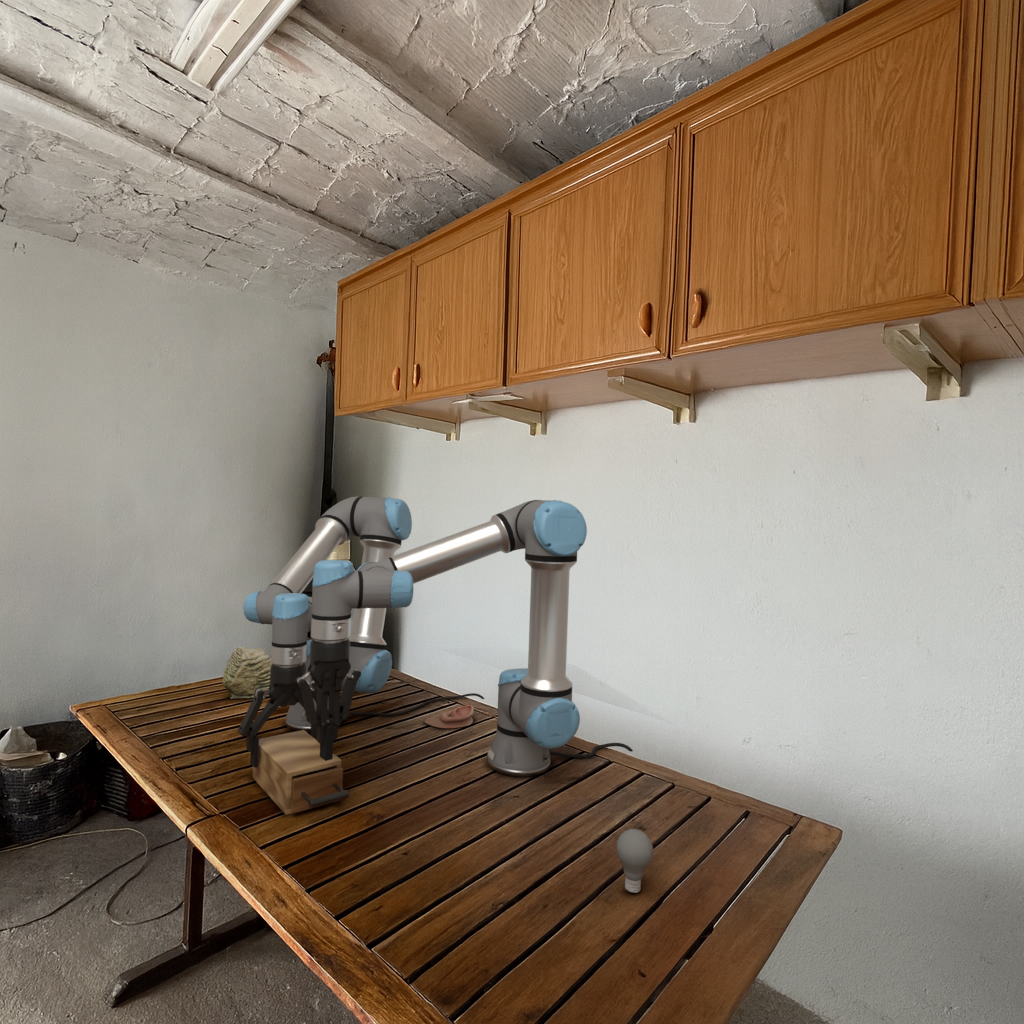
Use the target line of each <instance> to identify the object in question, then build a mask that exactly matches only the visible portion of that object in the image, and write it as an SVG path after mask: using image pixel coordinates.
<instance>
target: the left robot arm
mask: <svg viewBox="0 0 1024 1024" xmlns="http://www.w3.org/2000/svg"><path fill="white" fill-rule="evenodd" d="M314 525H315V526H314V528H315V529H314V530H313V531H312V533H311V534H309V536H308V537H307V539H306V540H305V541H304V542H303V543H302V544H301V546H300V547H299V548H298V550H296V552H295V553H294V554H293V556H291V558H290V560H289V561H288V562H287V563H286V564H285V565H284V567H283V568H282V569H281V570H280V571H279V573H278V574H277V575H276V577H275V578H274V579H273V580H272V581H271V582H270V584H269V585H268V586H267V587H266V589H265V590H264V591H262V590H261V591H260V590H259V591H253V592H251V593H249V594H248V595H247V596H246V598H245V600H244V602H243V605H242V607H243V608H242V612H243V616H245V618H246V620H247V621H249V622H251V623H256V624H260V625H271V626H272V627H271V628H272V629H271V635H272V636H271V649H270V658H271V663H272V666H271V669H270V686H269V688H268V689H259V688H256V689H255V692H254V697H253V699H252V700H251V703H250V705H249V707H248V709H247V711H246V713H245V714H244V717H243V719H242V721H241V723H240V725H239V727H238V729H237V732H238V733H239V735H240V736H241V737H246V746H245V747H246V750H247V752H248V753H250V759H249V761H250V762H249V764H250V765H251V766H252V768H253V767H254V768H255V767H258V750H259V739H260V736H259V735H257V734H258V733H259V731H261V729H262V727H263V726H264V725H265V724H266V722H267V721H268V720H269V719H270V717H271V716H272V715H273V714H274V712H275V711H277V710H278V709H279V707H281V708H285V707H288V706H289V708H288V711H287V713H286V715H285V726H286V728H287V729H289V730H291V731H294V732H296V731H301V730H305V731H306V732H307V733H310V735H311V736H312V737H313V738H315V739H316V731H317V726H312V725H311V724H310V723H308V722H307V718H306V713H305V708H304V704H303V699H302V694H301V689H300V687H299V686H298V684H297V683H296V681H295V680H296V678H297V677H302V676H303V675H304V674H306V673H307V670H308V667H309V665H310V646H311V641H312V640H313V638H311V639H308V633H311V621H312V596H309V595H307V594H305V593H303V592H304V591H305V590H306V588H307V586H308V585H309V584H310V583H311V581H313V576H314V567H315V565H316V563H317V562H319V561H323V560H329V558H330V557H331V555H332V554H333V552H334V551H335V550H336V548H337V547H338V546H341V545H343V544H344V543H346V541H347V540H348V539H350V538H354V537H358V538H359V543H360V544H361V546H362V547H363V552H362V559H361V565H363V564H365V563H368V562H378V561H381V560H383V559H386V558H390V557H392V556H395V553H396V551H398V550H399V549H400V548H401V547H402V542H403V541H405V540H407V539H409V537H410V536H411V533H412V529H413V520H412V514H411V509H410V507H409V505H408V504H407V502H406V501H405V500H403V499H400V498H393V497H390V496H388V497H382V496H381V497H379V496H350V497H348V498H345V499H342V500H340V501H339V502H337V503H336V504H333V505H332V506H331V507H330V508H328V509H327V510H326V511H325V512H324V513H322V515H321V516H320V517H319V519H318V520H316V522H315V524H314ZM353 610H354V611H353V614H352V615H353V616H352V620H351V631H350V637H349V638H347V639H349V641H350V656H349V662H350V664H351V668H353V669H356V670H358V671H360V672H361V676H360V678H359V679H358V681H357V683H356V686H355V690H354V693H359V694H376V693H378V692H380V691H381V690H382V689H383V688H384V686H385V685H386V683H387V682H388V680H389V678H390V675H391V671H392V667H393V659H392V658H393V656H392V654H391V652H390V651H388V650H387V642H386V640H384V638H383V635H384V634H383V632H384V626H385V620H386V619H385V618H386V614H387V608H360V609H356V608H355V609H353ZM346 678H347V675H346V676H345V678H344V679H343V681H342V687H341V691H343V688H344V684H345V681H346ZM310 681H311V685H309V686H310V688H311V691H312V696H313V701H314V706H315V710H316V704H317V689H316V683H315V682H314V681H313V679H312V678H311V679H310ZM267 695H269V696H267ZM471 696H473V697H478V698H480V699H481V700H485V697H484V696H483V695H481V694H479V693H476V692H475V693H474V692H473V693H465V694H460V695H453V696H452V695H451V696H442V697H437V698H432V699H429V700H426V701H424V702H421V703H420V704H418V705H415V706H413V707H410V708H408V709H405V710H400V711H397V712H373V711H371V712H370V711H349V714H348V716H349V715H354V716H355V715H356V716H357V715H358V716H379V717H381V716H382V717H390V716H399V715H403V714H407V713H410V712H412V711H414V710H416V709H419V708H422V707H423V706H425V705H428V704H430V703H433V702H437V701H444V700H453V699H462V698H465V697H471ZM267 697H270V698H269V699H268V701H267V702H266V704H265V706H264V707H263V709H262V710H261V711H260V708H261V706H262V704H263V701H264V700H265V699H266V698H267ZM259 711H260V712H259ZM258 713H259V714H258ZM328 714H329V692H328V703H327V723H329V720H328ZM343 722H344V720H342V721H341V722H340V723H341V724H342V723H343Z"/></svg>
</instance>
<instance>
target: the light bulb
mask: <svg viewBox="0 0 1024 1024" xmlns="http://www.w3.org/2000/svg"><path fill="white" fill-rule="evenodd" d="M615 849H616V854H617V857H618V859H619V861H620V863H621V865H622V867H623V873H624V874H623V875H624V876H625V878H624V888H625V890H627V891H628V892H630V893H634V894H635V893H639V892H640V891H641V889H642V887H641V886H642V879H643V877H644V875H645V871H646V868H647V867H648V866H649V864H650V863H651V861H652V859H653V855H654V847H653V843H652V841H651V838H649V836H648V835H647V834H646V833H645V832H643V831H642V830H641V829H636V828H629V829H627V830H625V831H623V832H622V833H621V834H620V835H619V837H618V839H617V841H616V847H615Z"/></svg>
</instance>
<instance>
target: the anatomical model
mask: <svg viewBox="0 0 1024 1024" xmlns="http://www.w3.org/2000/svg"><path fill="white" fill-rule="evenodd" d="M474 713H475V707H474V706H473V705H472V704H467V705H462V706H459V707H454V708H452V709H450V710H447V711H444V712H441V713H437V714H434V715H432V716H429V717H428V718H426V719H425V720H424V723H425V724H426V725H429V726H431V727H434V728H437V729H457V728H463V727H468V726H470V725H472V724H473V723H474V718H473V717H472V716H473V715H474Z"/></svg>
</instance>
